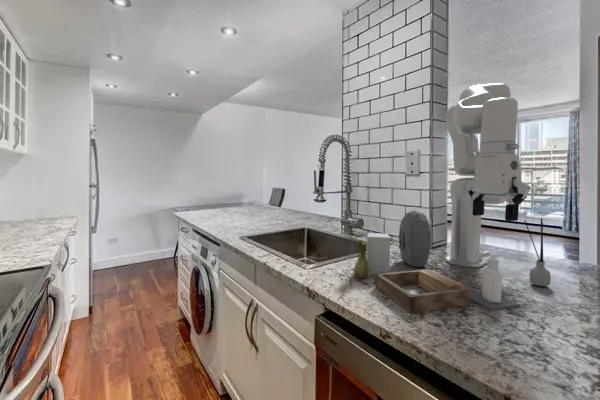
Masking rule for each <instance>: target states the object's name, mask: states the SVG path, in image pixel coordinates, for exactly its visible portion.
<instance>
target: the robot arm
mask: <svg viewBox="0 0 600 400" xmlns="http://www.w3.org/2000/svg"><path fill="white" fill-rule="evenodd" d="M511 95H512V94H511V89H510V87H509V86H508V85H507V84H506V83H502V82H497V83H487V84H477V85H472V86H468V87H467V88H465V89H464V90H463V91H462V92H461V94H460V96H459V101H458V102H457V104H454V105H452V106H451V107H449V108H448V109H447V112H446V114H445V115H446V116H445V118H446V127H447V128H446V129H447V131H448V135H449V137H450V138H451V142H452V149H453V150H452V151H453V155H452V157H453V169H454V173H455V174H456V175H458V176H460V177H461V178H456V179H455V180H453V181H452V182H451V183H450V187H449V191H450V193H449V194H450V199H451V201H450V202H451V230H450V231H451V232H450V234H451V235H450V255H447V256H446V257H445V262H447V263H449V264H451V265H455V266H459V267H465V268H481V267H483V266H484V265H485V261H484V260H483V259H482V258H487V257H488V258H490V257H491V254H490V252H489V251H481V232H482V231H481V230H482V229H481V228H482V216H484V215H485V205H501V204H503V203H504V202H505V200H506V201H507V203H508V204H505V214H504V220H505V221H506V222H515V221H518V220H519V210H520V205H521V204H522V203H523V202H524V200H526V199H527V197H528V194H529V193H530V191H531V189H532V187H531V186H530V185H529V184H527V183H526V182H523V181H522V166H521V161H520V156H519V154H516V150H518V149H519V147H520V144H519V143H517V125H518V124H517V123H518V110H519V109H518V108H519V105H518V104H519V103H518V101H517V99H516V98H512V97H511ZM476 135H480V137H479V139H480V140H479V139H478V137H477V136H476Z"/></svg>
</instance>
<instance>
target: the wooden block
mask: <svg viewBox="0 0 600 400" xmlns="http://www.w3.org/2000/svg"><path fill="white" fill-rule="evenodd" d="M420 270H421V271H419V284H417V285H418V286H419V287H420V288H422V289H423V290H425V291H427V292H428V293H430V292H438V291H447V290H455V289H463V288H464V284H463V283H461V282H459V281H456V280H454V279H452V278H450V277H448V276H446V275H443V274H441V273H439V272H437V271H435V270H432V269H427V270H423V269H420Z"/></svg>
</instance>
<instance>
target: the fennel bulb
mask: <svg viewBox="0 0 600 400" xmlns="http://www.w3.org/2000/svg"><path fill="white" fill-rule="evenodd" d="M366 249H367V242H365V241H364V240H359V241H358V256H357V260H356V262H355V265H354V268H353V274H354V276H355V277H356V278H357V279H365V278H368V277H369V275H370V274H369V266H368V262H367V251H366Z"/></svg>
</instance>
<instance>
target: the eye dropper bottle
mask: <svg viewBox="0 0 600 400" xmlns="http://www.w3.org/2000/svg"><path fill="white" fill-rule="evenodd" d="M486 259H487V261H486V266H485V267H483V270H482V271H483V273H482V289H481V292H482V296H483V298H484V299H486V300H487V301H489V302H491V303H501V296H502V290H503V289H502V284H503V274H502V273H503V272H502V271H501V270H500V269H499V259H498V258H496V254H495V253H491V254H490V256H489V257H488V258H486Z"/></svg>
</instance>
